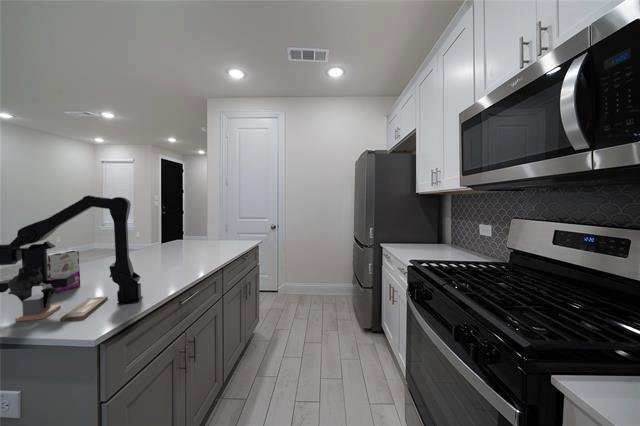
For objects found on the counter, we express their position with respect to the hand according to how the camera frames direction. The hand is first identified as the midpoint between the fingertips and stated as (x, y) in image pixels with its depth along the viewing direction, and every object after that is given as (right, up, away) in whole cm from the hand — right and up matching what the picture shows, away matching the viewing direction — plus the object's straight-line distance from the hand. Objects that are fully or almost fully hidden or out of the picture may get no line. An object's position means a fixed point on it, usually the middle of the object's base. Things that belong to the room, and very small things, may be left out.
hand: (37, 308), depth 88 cm
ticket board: (+13, -2, +5) cm, 13 cm away
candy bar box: (-16, -1, +24) cm, 29 cm away
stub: (+1, -2, 0) cm, 2 cm away
